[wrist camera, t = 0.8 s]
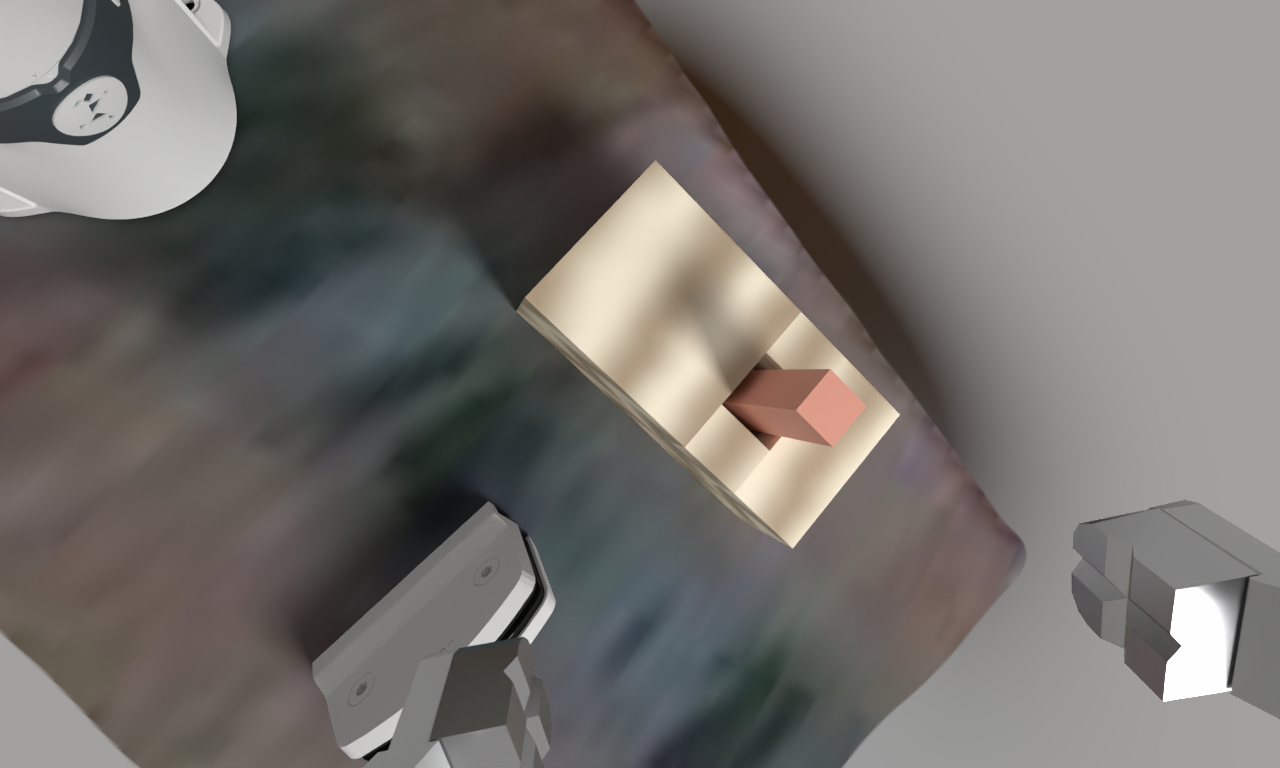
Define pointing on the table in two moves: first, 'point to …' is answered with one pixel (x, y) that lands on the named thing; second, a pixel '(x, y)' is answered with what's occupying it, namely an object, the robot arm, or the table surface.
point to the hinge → (432, 625)
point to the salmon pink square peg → (795, 404)
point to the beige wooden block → (699, 352)
